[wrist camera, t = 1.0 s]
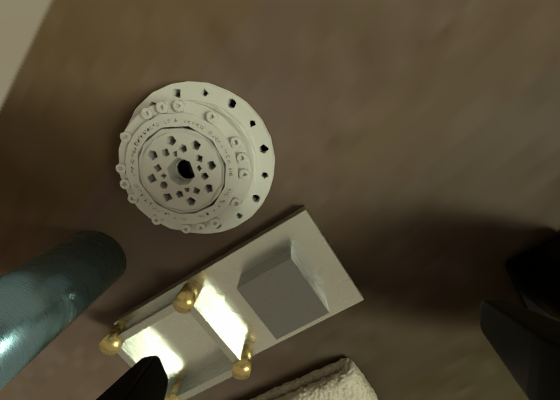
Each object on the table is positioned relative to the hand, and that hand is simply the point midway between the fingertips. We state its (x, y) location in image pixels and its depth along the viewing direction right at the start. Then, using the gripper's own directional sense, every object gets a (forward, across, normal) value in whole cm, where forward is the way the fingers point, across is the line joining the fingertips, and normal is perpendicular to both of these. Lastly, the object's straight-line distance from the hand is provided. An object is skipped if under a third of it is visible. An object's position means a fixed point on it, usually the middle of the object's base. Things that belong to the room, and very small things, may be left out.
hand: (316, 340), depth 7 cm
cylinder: (+13, +16, +2) cm, 21 cm away
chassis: (+13, +6, +8) cm, 16 cm away
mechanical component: (+13, +6, -4) cm, 15 cm away
